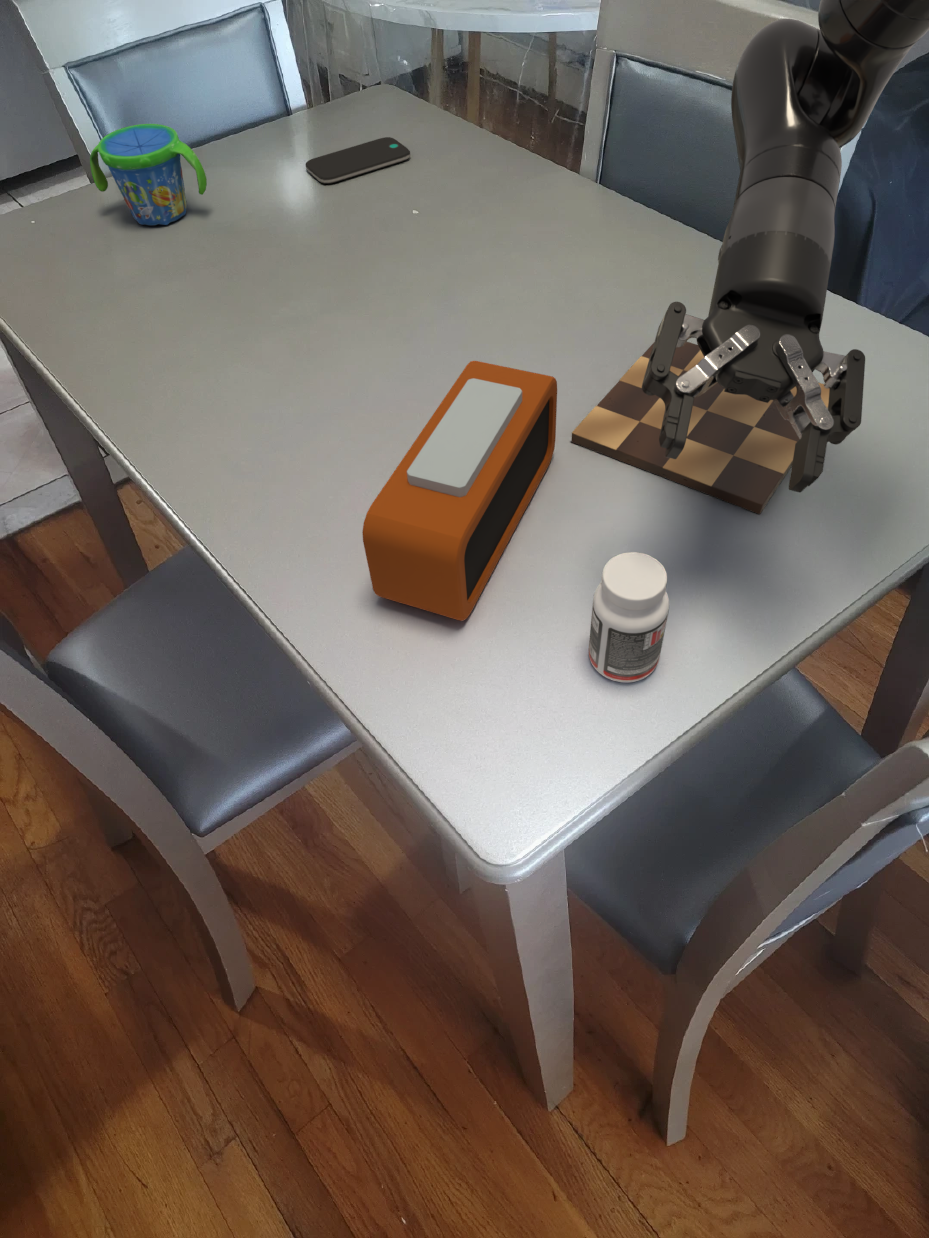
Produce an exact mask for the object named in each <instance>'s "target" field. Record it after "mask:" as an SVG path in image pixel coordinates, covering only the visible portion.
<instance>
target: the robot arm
mask: <svg viewBox="0 0 929 1238" xmlns="http://www.w3.org/2000/svg"><path fill="white" fill-rule="evenodd" d="M817 22H818V27H819V28H817V27H815V26H813V25H810V24H808V23H806V22H804V21H801V20H799V19H796V18H795V19H794V18H780V19H776V20H773V21H772V22H769V23H767V24H766V25H764V26H763V27H762V28H760V30H758V31H757V32H756V33H755V34H754V35H753V36H752V37H751V39H750V40H749V42H748V43H747V45H746V46H745V48H744V49H743V51H742V53H741V55H740V57H739V59H738V62H737V64H736V68H735V71H734V76H733V80H732V86H731V94H730V95H731V96H730V108H731V121H732V129H733V134H734V138H735V146H736V153H737V162H738V167H739V175H738V180H737V185H736V191H735V194H734V201H733V206H732V211H731V215H730V217H729V220H728V222H727V224H726V225H727V226H726V228H725V231H724V234H723V239H722V243H721V246H720V247H719V250H718V256H717V261H718V264H717V269H716V275H715V279H714V285H713V289H712V294H711V299H710V305H709V309H708V315H707V317H706V318H705V319H703V318H700V317H696V316H693V315H690V314H687V307H686V306H685V304H684V303H682V302H680V301H672V302H670V303H669V305H668V308H667V310H666V311H665V313H664V315H663V318H662V320H661V321H660V323H659V325H658V329H657V332H656V335H655V338H654V341H653V343H654V345H653V348H652V352H651V355H650V359H649V362H648V366H647V369H646V373H645V376H644V379H643V383H642V390H643V392H644V393H645V394H647V395H650V396H652V395H656V396H658V397H659V398H661V399H662V400H663V402H664V404H665V412H664V417H663V422H662V427H661V432H660V436H659V442H660V447H663V448H666V454H665V457H668V458H672V459H677V457H678V456H679V454H680V453H681V452H682V450H683V448H684V446H685V443H686V438H687V433H688V428H689V423H690V418H691V413H692V407H693V402H694V398H695V397H699V396H701V395H702V394H703V393H705V392H706V391H707V390H709V389H710V388H711V387H713V386H714V385H715V384H717V383H719V384H720V385H721V386H722V387H724V388H725V389H724V392H728V393H731V394H740V395H748V396H750V397H752V398H754V399H756V400H758V401H762V402H766V403H768V402H769V401H770V400H773V401H774V403H775V405H776V407H777V409H778V410H779V412H780V414H781V416H782V417H783V419H785V420H789V421H790V423H791V425H792V426H793V428H794V430H795V432H796V434H797V435H798V437H799V440H798V442H797V443H796V444H795V450H794V456H793V463H792V466H791V468H790V477H789V482H788V490H789V491H792V492H796V493H802V492H803V491H804V490H805V489H806V488H808V487H810V486H811V485H812V484H813V483H814V482H816V481H817V480H818V479H820V476H822V473H823V472H824V466H825V461H826V460H825V458H826V452H827V446H828V443H829V444H831V445H840V444H842V442H844V441H845V439H846V438H847V437H848V436H850V435H851V433H852V432H853V431H855V430H856V429H858V428H859V427H860V426H861V424H862V417H863V416H862V415H863V401H864V400H863V399H864V386H865V371H866V370H865V367H866V356H865V353H864V352H863V351H861V350H860V349H857V348H854V349H851V350H849V352H847V354H846V355H844V354H838V353H834V352H830V351H829V352H828V351H824V347H823V346H822V343H821V339H820V332H821V328H822V324H823V319H824V313H825V305H826V298H827V292H828V285H829V278H830V273H831V266H832V260H833V253H834V246H835V235H836V230H835V229H836V228H835V215H836V207H837V200H838V195H839V188H840V184H841V183H840V182H841V175H842V166H843V160H842V152H841V148H842V147H844V146H846V145H847V144H849V143H850V142H851V141H853V140H854V139H855V138H856V137H857V136H858V134H859V133H860V132H861V131H862V129H863V128H864V126H865V124H866V123H867V121H868V119H869V118H870V116H871V114H872V112H873V110H874V108H875V106H876V104H877V102H878V100H879V98H880V96H881V94H882V93H883V90H884V89H885V87H886V85H887V84H888V83H889V81H890V80H891V77H892V76H893V75H894V74H895V72H896V70H897V69H898V67H899V65H900V64H901V63H902V62H903V60H904V59H905V57H906V56H907V55H908V53H909V52H910V50H911V49H912V48H913V46H915V44H917V43H918V42H919V41H920V40H921V39H922V38H923V37H924V36H925V35H926V34H927V33H928V32H929V0H820V2H819V6H818V10H817ZM690 339H696V345H698V346H699V348H700V350H701V352H702V354H703V356H704V358H703V359H702V360H701V361H700V362H699V363H698V364H697V365H696V366H694V367H693V368H692V369H690V370H689V371H688V372H686V373H685V374H683V375H682V376H681V377H679V376H678V375H676V374H674V373H673V372H671V371H670V367H671V364H672V360H673V357H674V353H675V350H676V348H677V347H682V346H684V345H685V343H686V342H688V340H690ZM814 371H818V372H819V373H821V375H822V377H823V382H824V383H823V384H824V387H825V388H827V389H829V388H830V390H829V403H828V409H827V407H826V406H825V404H824V402H823V400H822V399H821V387H820V385H819V383H820V382H819V381H818V380H817V378H816V376H815V375H814V373H813V372H814ZM818 382H819V383H818ZM795 386H796V389H797V393H796V395H795V396H793V394H792V392H791V391H790V390H792V389H793V388H794V387H795Z"/></svg>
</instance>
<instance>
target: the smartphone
mask: <svg viewBox="0 0 929 1238" xmlns="http://www.w3.org/2000/svg"><path fill="white" fill-rule="evenodd" d="M410 158H411V150H410V149H409V148H408V147H406V146H405V145H404V144H402V143H401V142H399V141H398V139H395V138H393V137H391V136H386V137H380V138H377V139H373V140H370V141H367V142H363V143H360V144H357V145H353V146H351V147H347V148H344V149H340V150H337V151H333V152H330V153H326V154H324V155H320V156H317V157H313V158H311V159H308V160H307V161H306V162H305V169H306V171H307V172H308V173H309V174H310V175H312V176H313V177H314V178H315V179H316V180H317V181H318V182H320V183H322V184H324V185H330V184H335V183H338V182H341V181H342V182H343V181H345V180H349V179H351V178H354V177H355V178H356V177H358V176H361V175H364V174H367V173H370V172H374V171H377V170H380V169H384V168H387V167H390V166H393V165H396V164H400V163H404V162H405V161H407V160H409V159H410Z"/></svg>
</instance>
